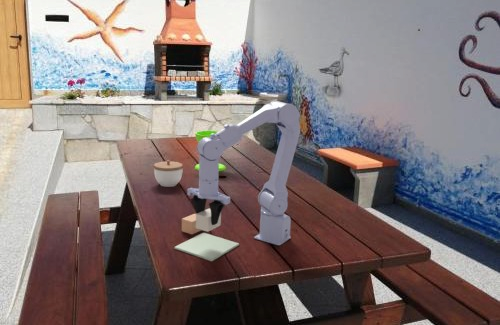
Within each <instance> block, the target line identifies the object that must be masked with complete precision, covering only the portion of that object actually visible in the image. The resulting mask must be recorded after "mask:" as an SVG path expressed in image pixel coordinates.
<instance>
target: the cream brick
mask: <svg viewBox="0 0 500 325" xmlns="http://www.w3.org/2000/svg"><path fill="white" fill-rule="evenodd" d="M195 214H196V228H197V229H200V230H201V231H204V232H206V233H207V232H210V231H212V230H214V229H217V228H218V227H220V226H221V225H222V224H221V223H222V222H221V221H222V212H221V213H220V216H219V219H218V223H217V224H215V225H212V223H211V210H210V207H209V208H207V209H206V208H205V210H204V211H202V212H200V213H195Z"/></svg>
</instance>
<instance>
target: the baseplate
mask: <svg viewBox="0 0 500 325" xmlns="http://www.w3.org/2000/svg"><path fill="white" fill-rule="evenodd" d="M239 246H240V243H239V242H237V241H232V240H229V239H226V238H223V237H220V236H215V235H213V234H209V233H207V232H202V233H200V234H197V235H195V236H194V237H192V238H190V239H188V240H185V241H184V242H181V243H179V244H178V245H176V246H174V249H175V250H178V251H181V252H183V253H185V254H189V255H192V256H195V257H197V258H201V259H203V260H206V261H209V262H213V261H215V260H217V259H218V258H220V257H222V256H223V255H225V254H226V253H228V252H230V251H232V250H233V249H235V248H238V247H239Z"/></svg>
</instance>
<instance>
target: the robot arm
mask: <svg viewBox="0 0 500 325" xmlns="http://www.w3.org/2000/svg"><path fill="white" fill-rule="evenodd" d="M300 116H301V113H300V111H299V110H298V108H297V107H296V106H295V105H294V104H293V103H287V102H282V101H280V100H272V101H271V102H269V103H266V104H263V106H262V107H261V108H260V109H259V110H257V111H255V112H254V113H253V114H251V115H250V116H248V117H247V118H245V119H244V120H242V121H241V122H239V123H238V124H234V123H230V124H228V123H226V124H224V125H223V128H222V129H220V130H218V132H217V133H215V134H213V133H212V134H211V135H210V138H209V137H205V138H203V139H201V140H200V141H199V143H198V142H197V143H198V144H197V146H196V147H195V148H196V151H197V153H198V155H199V163H198V164H199V170H198V188H197V187H195V188H194V187H190V188H187V190H186V191H187V196H192V198H190V202H191V204H192V205H193V208H194V210H195V214H197V213H200V212H202V211H204V210H206V204H207V200H210V201H212V202H210V203H208V206H209V208H210V210H211V223H212V225H215V224H217V223H218V219H219V216H220V213H221V214H222V211H223V208H224V207H225V206H226V205H228V204H231V196H228V195H225V194H223V193H221V192H219V172H220V171H219V164H220V163H219V161H220V158H221V156H222V155H223V153H224V152H225V151H226V150H228V149H230V148H231V147H233V146H234V145H236V144H238V143H239V142H241V141H242V139H243V136H244V135H245V134H247V133H249V132H251V131H252V130H254V129H256V128H258V127H259V126H262V125H263V124H265V123H270V124H271V123H273V124H276V126H277V128H278V129H279V131H280V133H281V135H280V139H279V143H278V147H277V151H276V154H275V156H274V157H275V158H274V160H273V164H272V168H271V172H270V176H269V180H268V181H266V182H265V183H264V184H263V187H262V189H261V191H260V192H259V194H258V196H257V202H258V203H259V205H260V220H259V233H258V234H257V235H255V236H253V238H254V239H255V240H259V241H262V242H265V243H268V244H272V245H275V246H281V245H283V244H284V243H286V242H287V241H288V240H289V239H291V238H292V237H291V227H292V226H291V224H292V220H291V216H289V215H287V214H286V213H285V212H286V211H287V210H288V206H289V203H288V196H289V192H288V189H287V186H286V185H287V181H288V178H289V174H290V171H291V167H292V164H293V160H294V155H295V152H296V149H297V146H298V143H299V139H300V138H299V137H300V135H301V125H300V120H299V119H300Z"/></svg>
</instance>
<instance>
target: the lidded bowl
mask: <svg viewBox="0 0 500 325" xmlns="http://www.w3.org/2000/svg"><path fill="white" fill-rule="evenodd" d="M183 168H184V165H183V163H181V162H178V161H170V159H167V160H165V161H159V162H156V163H153V170H154V171H153V174H154V178H155V180H156V181H157V182H156V183H158V184H160V186H161V187H166V188H167V187H168V188H169V187H170V188H171V187H176V186H177V184H178V183H179V182H180V181H181V180H182V177H183Z"/></svg>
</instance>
